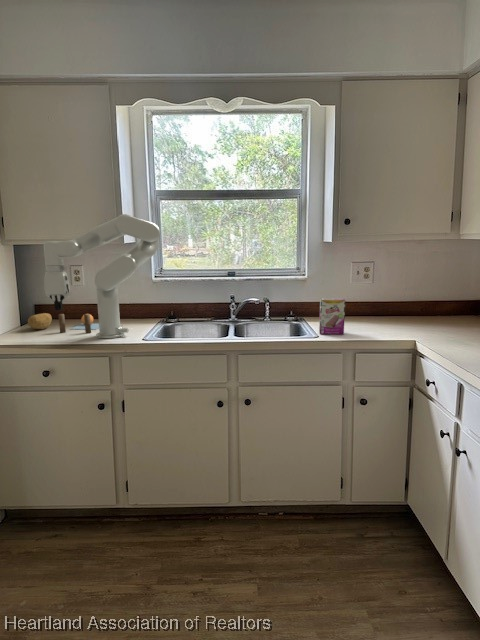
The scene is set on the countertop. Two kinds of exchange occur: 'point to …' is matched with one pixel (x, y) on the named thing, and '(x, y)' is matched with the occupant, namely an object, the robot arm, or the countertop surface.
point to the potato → (40, 321)
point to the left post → (62, 323)
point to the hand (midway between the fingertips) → (58, 309)
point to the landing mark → (82, 327)
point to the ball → (84, 320)
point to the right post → (87, 323)
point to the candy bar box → (332, 316)
